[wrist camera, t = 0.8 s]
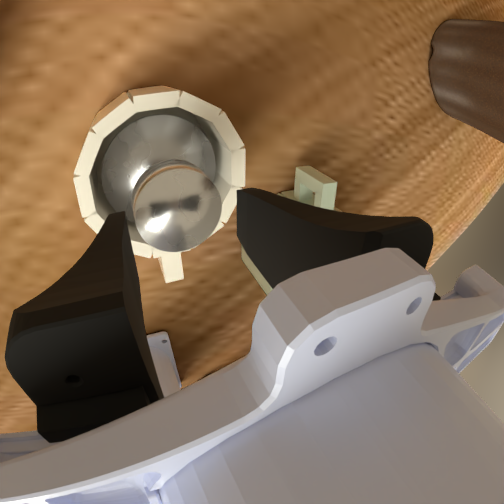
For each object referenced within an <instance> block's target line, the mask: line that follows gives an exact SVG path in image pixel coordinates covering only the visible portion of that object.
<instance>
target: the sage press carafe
mask: <svg viewBox="0 0 504 504" xmlns="http://www.w3.org/2000/svg"><path fill="white" fill-rule="evenodd" d="M336 189H337V182H336V181H335V180H333V179H331V178H330V177H328V176H326V175H325V174H323V173H321V172H320V171H318V170H316V169H314V168H313V167H311V166H300V167H296V173H295V187H294V190H291V191H284V192H281V194H279V193H278V194H277V195H280V196H283V197H286V198H289V199H292V200H295V201H299V202H302V203H305V204H309V205H312V206H316V207H320V208H324V209H329V210H334V211H339V212H342V211H341V210H339V209H338V208H337V207H335V206H334V203H335V196H336ZM313 192H314V193H313ZM241 249H242V261H243V262H244V264H245V265H246V266H247V268H248V269H249V271H250V272H251V274H252V275H253V276H254V278H255V279H256V281H257V282H258V283H259V285H260V286H261V288H262V289H263V291H264V292H265V293H266V295H268V294H269V293H270V292H271V291H272V290H273V289H272V287H271V286H270V285H269V283H268V282H267V281H266V280H265V278H264V277H263V276H262V274H261V273H260V272H259V270H258V269H257V268H256V266H255V265H254V264H253V262H252V261H251V259H250V258H249V257H248V255H247V254H246V252H245V250H244V248H243V246H242V245H241Z"/></svg>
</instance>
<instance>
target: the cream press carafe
mask: <svg viewBox="0 0 504 504" xmlns="http://www.w3.org/2000/svg"><path fill="white" fill-rule="evenodd" d="M221 110H222V109H220V108H218V107H216V106H214V105H212V104H210V103H208V102H206V101H203V100H201V99H199V98H197V97H195V96H193V95H191V94H189V93H186V92H184V91H181V90H178V89H175V88H171V87H168V86H163V85H162V86H153V87H146V88H139V89H132V90H128V92H127V93H126V92H123V93H122V94H121V95H119V96H118V97H117V98H116V99H114V100H113V101H112V102H110V103H109V104H108V105H107V106H105V107H104V108H103V109H102V110H100V111H99V112H98V113H97V114H96V116H95V117H94V119H93V122H92V124H91V127H90V129H89V132H88V134H87V137H86V139H85V142H84V145H83V147H82V150H81V153H80V156H79V159H78V162H77V165H76V168H75V171H74V183H75V188H76V193H77V197H78V202H79V206H80V210H81V215H82V218H83V217H84V221H85V222H86V223H87V224H88V225H89V226H90V227H91V228H92V229H93V230H94V231H95V232H96V233H97V234H98V232H99V231H100V229H101V227H102V225H103V224H104V222H105V220H106V218H107V217H108V215H109V214H112V213H117V212H116V211H115V210H114V208H113V207H112V206H111V205H110V203H109V201H108V200H107V198H106V196H105V193H104V190H103V186H102V179H101V173H102V163H103V158H104V155H105V152H106V150H107V148H108V146H109V144H110V142H111V141H112V139H113V138H114V137H115V135H116V134H117V133H118V132H119V131H120V130H121V129H122V128H124V127H125V126H126V125H128V124H129V123H131V122H132V121H134V120H136V119H139V118H141V117H144V116H148V115H153V114H170V115H175V116H178V117H181V118H184V119H186V120H188V121H189V122H191V123H192V124H194V125H195V126H197V127H198V128H199V129H200V130H201V131H202V132H203V133H204V134H205V136H206V137H207V138H208V140H209V142H210V144H211V146H212V148H213V151H214V155H215V163H216V169H215V177H214V181H213V184H214V185H215V186H216V188H217V189H218V191H219V194H220V197H221V202H222V211H221V217H220V220H219V222H218V225H217V226H216V228H215V230H214V231H213V233H212V234H214V233H215V232H216V231H218V230H219V229H220V228H222V227H223V226H224V225H223V224H222V222H225V223H227V221H228V219H229V217H230V215H231V213H232V212H233V210H234V208H235V206H236V204H237V190H240V189H243V188H242V187H244V186H245V148H244V147H243V146H244V143H243V142H242V140H241V138H240V137H239V135H238V133H237V132H236V130H235V128H234V127H233V125H232V123H231V122H230V120H229V118H228V117H227V115H226V114H225V112H224V111H221ZM221 221H222V222H221ZM127 224H128V229H129V234H130V239H131V244H132V248H133V253H134V254H135V255H139V256H143V257H147V258H151V255H152V254H153V258H157V257H158V260H159V263H160V267H161V270H162V273H163V276H164V279H165V282H166V283H168V282H173V281H177V280H181V279H184V276H183V269H182V261H181V254H180V252H184V251H180V252H166V251H162V250H159V249H156V248H154V247H152V246H151V245H149V244H148V243H147V242H146V241H145V240H144V239H143V238H142V237H141V235H140V234H139V232H138V229H137V227H136V223H134V222H131V221H129V220H127ZM212 234H211V235H212ZM211 235H210V236H211ZM210 236H209V237H210ZM196 247H197V246H196ZM194 248H195V247H194ZM189 250H190V249H189ZM189 250H185V251H189Z"/></svg>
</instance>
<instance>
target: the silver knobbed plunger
mask: <svg viewBox="0 0 504 504" xmlns="http://www.w3.org/2000/svg"><path fill="white" fill-rule="evenodd" d="M215 169H216V163H215V155H214V151H213V148H212V146H211V144H210V142H209V140H208V138H207V137H206V136H205V134H204V133H203V132H202V131H201V130H200V129H199V128H198V127H197V126H195V125H194V124H192V123H191V122H189V121H188V120H186V119H184V118H181V117H178V116H175V115H170V114H153V115H148V116H144V117H141V118H139V119H136V120H134V121H132V122H131V123H129V124H128V125H126V126H125V127H124V128H122V129H121V130H120V131H119V132H118V133H117V134H116V135H115V137H114V138H113V139H112V141H111V142H110V144H109V146H108V148H107V150H106V152H105V155H104V158H103V163H102V173H101V179H102V186H103V190H104V193H105V196H106V198H107V200H108V201H109V203H110V205H111V206H112V207H113V208H114V210H115V211H116V212H121V211H125V213H126V219H127V220H129V221H131V222H134V223H136V227H137V229H138V232H139V234H140V235H141V237H142V238H143V239H144V240H145V241H146V242H147V243H148V244H149V245H151V246H152V247H154V248H156V249H159V250H162V251H166V252H180V251H185V250H189V249H191V248H194V247H196V246H198V245H199V244H201V243H202V242H204V241H205V240H206V239H207V238H208V237H209V236H210V235H211V234H212V233H213V231H214V230H215V228H216V226H217V225H218V222H219V220H220V217H221V211H222V202H221V197H220V194H219V191H218V189H217V188H216V186H215V185H214V184H213V181H214V177H215Z"/></svg>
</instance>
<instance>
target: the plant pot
mask: <svg viewBox="0 0 504 504" xmlns="http://www.w3.org/2000/svg"><path fill="white" fill-rule="evenodd" d="M431 44H432V47H433V54H432V57H431V59H430V60H429V72H430V80H431V85H432V89H433V92H434V95H435V98H436V100H437V102H438V104H439V106H440V107H441V108H442V110H443V111H444V112H445V113H446V114H448V115H450V116H451V117H453V118H455V119H458V120H460V121H462V122H464V123H466V124H468V125H470V126H472V127H474V128H476V129H478V130H480V131H482V132H484V133H486V134H488V135H490V136H492V137H493V138H495V139H497V140H499V141H501V142H502V143H504V22H497V21H485V20H464V19H451V20H447V21H445V22H444V23H442V24H441V25H440V26H439V28H438V29H437V30H436V32H435V34H434V36H433V39H432V42H431Z"/></svg>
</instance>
